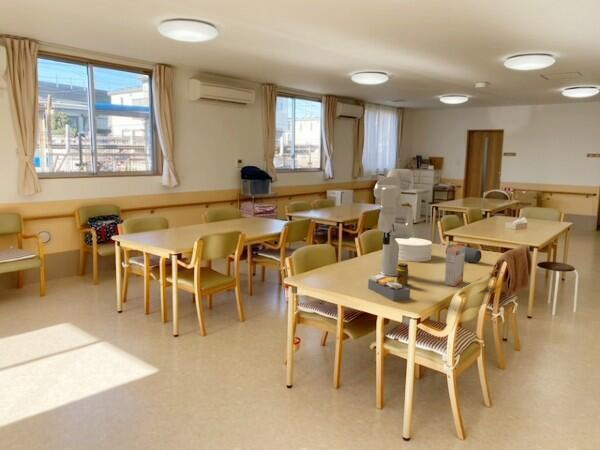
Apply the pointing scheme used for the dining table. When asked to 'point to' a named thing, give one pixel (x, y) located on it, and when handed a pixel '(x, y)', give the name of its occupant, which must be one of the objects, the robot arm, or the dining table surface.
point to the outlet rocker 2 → (385, 281)
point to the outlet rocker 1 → (378, 277)
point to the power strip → (389, 291)
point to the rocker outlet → (394, 285)
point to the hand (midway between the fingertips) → (386, 244)
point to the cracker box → (454, 265)
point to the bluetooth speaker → (469, 254)
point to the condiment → (402, 274)
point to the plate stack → (414, 249)
